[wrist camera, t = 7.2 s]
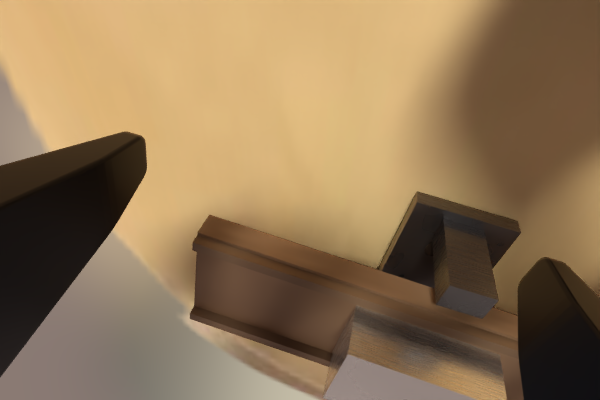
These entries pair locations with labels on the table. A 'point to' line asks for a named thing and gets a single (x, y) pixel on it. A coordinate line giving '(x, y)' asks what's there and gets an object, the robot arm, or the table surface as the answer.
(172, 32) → the table surface
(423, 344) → the block
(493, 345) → the beam
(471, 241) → the stand
